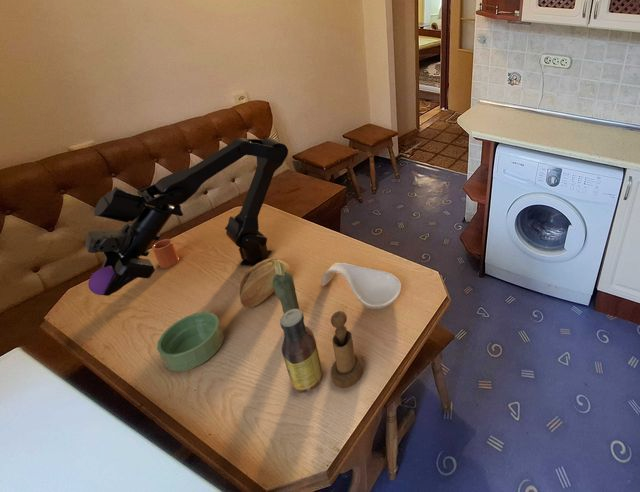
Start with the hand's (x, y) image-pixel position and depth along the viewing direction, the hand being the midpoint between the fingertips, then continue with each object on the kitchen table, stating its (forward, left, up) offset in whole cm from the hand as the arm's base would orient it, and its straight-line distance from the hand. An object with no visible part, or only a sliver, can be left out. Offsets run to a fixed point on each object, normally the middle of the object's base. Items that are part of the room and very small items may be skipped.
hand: (102, 288), depth 82 cm
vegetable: (-41, -3, -13) cm, 43 cm away
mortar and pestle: (-59, +9, -13) cm, 61 cm away
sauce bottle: (-51, +11, -13) cm, 53 cm away
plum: (-1, -1, +1) cm, 2 cm away
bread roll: (-29, -13, -13) cm, 34 cm away
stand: (+6, -22, -13) cm, 27 cm away
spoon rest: (-55, -14, -13) cm, 58 cm away
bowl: (-22, +5, -13) cm, 26 cm away
